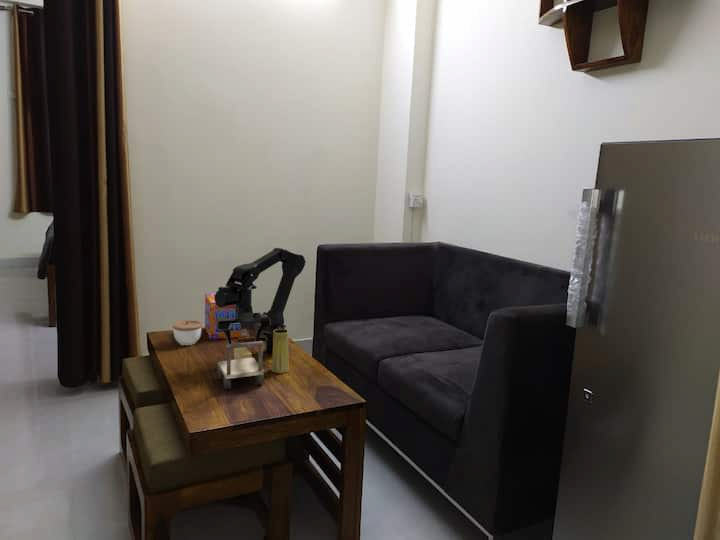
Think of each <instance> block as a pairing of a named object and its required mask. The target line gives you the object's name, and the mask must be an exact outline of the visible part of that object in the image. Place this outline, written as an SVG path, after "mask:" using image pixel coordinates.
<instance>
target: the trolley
mask: <svg viewBox="0 0 720 540" xmlns="http://www.w3.org/2000/svg"><path fill="white" fill-rule="evenodd" d="M263 345H264V340H258V341H257V342H255V341H248V342H240V343H239V342H238V343H231V344H229V343H228V344H226V346H225V347H226V360H220V361H217V376H218V377H217V378H218V379H219V380H221V379H222V380H223V381H222V382H223V388H224V390H230V389H231V388H232V380H231V379H237V378H245V377H246V378H247V377H253V376H255V383H256V385H258V386H259V385H264V383H265V380H264V379H265V378H264V375H265V370H264V369H263ZM242 347H246V348H251V347H258V351H257V353H258V357H257V359H258V362H257V360H256V358H254V357H252V358H245V359H236V360H234V359H232V349H233V350H234V348H242Z"/></svg>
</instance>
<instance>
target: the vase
mask: <svg viewBox="0 0 720 540" xmlns="http://www.w3.org/2000/svg"><path fill="white" fill-rule="evenodd" d="M289 334H290V333H289V329H286V328H285V329H276V330H274V331H273V354H272V355H271V357H272V359H271V370H270V371H271V372H273V373H276V374H285V372H286V373H288V372H289V371H290V366H289V364H290V362H289V361H290V360H289V359H290V358H289Z"/></svg>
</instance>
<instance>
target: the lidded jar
mask: <svg viewBox="0 0 720 540" xmlns="http://www.w3.org/2000/svg"><path fill="white" fill-rule="evenodd" d="M202 324H203V323H202V322H200V321H198V320H189V319H186V320H181V321H177V322H174V323H173V324H172V330H173V336H174V338H175V339H174V340H175V341H176V342H177V343H179V345H181V346H184V345H186V346H188V345H189V346H194V345H196V343H197V342H198V341H199V339H200V338H201V336H202V326H203V325H202ZM193 344H194V345H193ZM186 346H185V347H186Z"/></svg>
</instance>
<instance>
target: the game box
mask: <svg viewBox="0 0 720 540" xmlns="http://www.w3.org/2000/svg"><path fill="white" fill-rule="evenodd" d="M215 294H216V293H205V294H204V329H205V331H206V333H208V334H207V335H209V336H208V338H209V340H210V339H212V340H218V339H217V338H225V339H227V338H226V335H225V333H224V331H221V330H219V329H217V327H216V326H215V320H216V318H223V317H227V318H228V320H234V319H235V305H230V306H226V307H218V306H217V305H216V303H215V299H214V296H215ZM229 328H230V330H231V331H230V335H231V339H234V337H238V338H248V337H249V332H248V330H247V329H243V328H241V325H240V324H239V325H230V327H229Z"/></svg>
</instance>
